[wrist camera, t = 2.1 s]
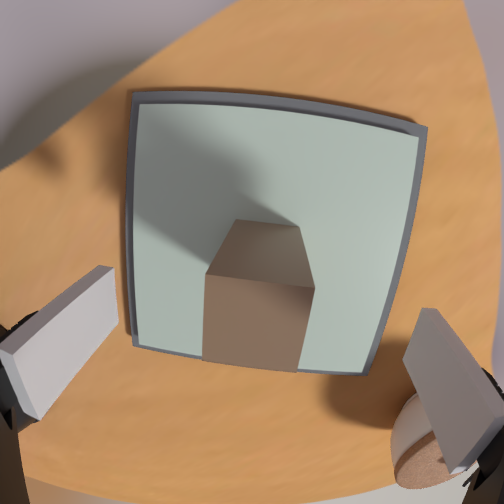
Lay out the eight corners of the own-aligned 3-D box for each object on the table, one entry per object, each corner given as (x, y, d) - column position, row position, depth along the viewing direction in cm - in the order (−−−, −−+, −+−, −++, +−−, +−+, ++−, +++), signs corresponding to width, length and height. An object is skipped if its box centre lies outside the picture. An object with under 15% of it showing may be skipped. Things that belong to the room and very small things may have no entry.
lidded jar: (408, 362, 25) (444, 438, 16) (486, 367, 25) (526, 425, 16) (363, 436, 28) (377, 507, 19) (439, 435, 28) (462, 493, 19)
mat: (137, 339, 26) (132, 346, 25) (138, 94, 19) (132, 92, 18) (364, 368, 25) (367, 375, 24) (422, 127, 19) (428, 127, 18)
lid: (142, 338, 25) (90, 422, 15) (144, 105, 19) (53, 85, 9) (359, 366, 24) (386, 460, 15) (413, 137, 18) (505, 139, 9)
